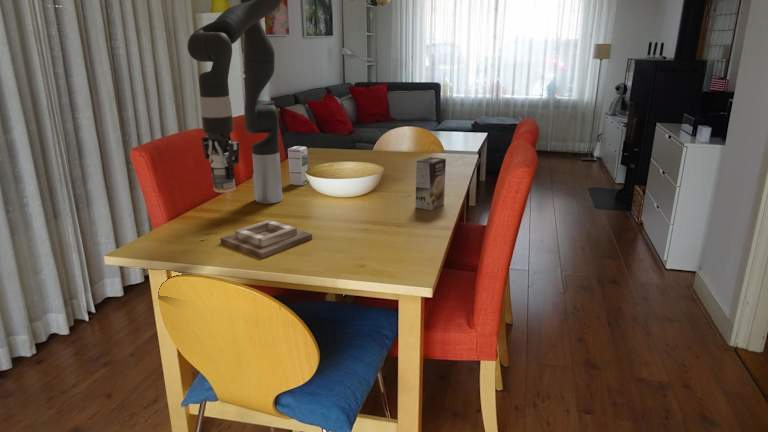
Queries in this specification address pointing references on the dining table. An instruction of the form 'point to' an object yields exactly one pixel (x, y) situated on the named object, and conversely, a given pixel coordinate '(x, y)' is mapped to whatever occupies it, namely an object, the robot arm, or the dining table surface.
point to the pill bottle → (220, 175)
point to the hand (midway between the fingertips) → (223, 177)
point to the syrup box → (298, 165)
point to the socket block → (266, 238)
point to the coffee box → (430, 183)
